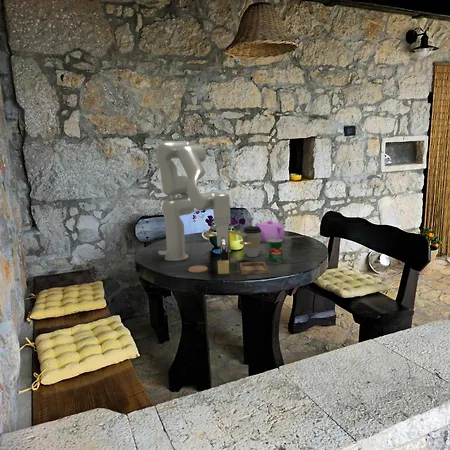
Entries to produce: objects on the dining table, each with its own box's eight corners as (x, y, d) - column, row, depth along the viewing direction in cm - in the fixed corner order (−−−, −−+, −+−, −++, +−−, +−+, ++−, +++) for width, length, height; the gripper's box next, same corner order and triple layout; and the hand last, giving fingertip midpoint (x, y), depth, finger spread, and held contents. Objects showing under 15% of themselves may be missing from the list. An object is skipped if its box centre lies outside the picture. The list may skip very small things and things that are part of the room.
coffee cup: (260, 258, 208) (260, 229, 205) (242, 257, 209) (241, 229, 207) (262, 253, 217) (262, 225, 214) (245, 252, 219) (244, 225, 216)
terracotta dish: (187, 272, 187) (187, 271, 187) (188, 267, 196) (188, 265, 196) (207, 272, 188) (207, 270, 187) (207, 266, 196) (207, 265, 196)
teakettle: (285, 243, 236) (285, 222, 234) (256, 244, 237) (256, 223, 234) (282, 237, 253) (282, 217, 251) (255, 237, 253) (254, 218, 251)
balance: (205, 264, 200) (203, 227, 196) (205, 260, 206) (204, 225, 202) (252, 262, 200) (251, 226, 197) (251, 259, 206) (250, 223, 203)
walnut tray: (241, 274, 182) (241, 270, 182) (239, 266, 194) (239, 262, 194) (267, 273, 183) (267, 269, 182) (264, 265, 195) (264, 261, 194)
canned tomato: (274, 264, 196) (274, 242, 194) (263, 261, 202) (263, 239, 200) (286, 261, 201) (286, 240, 199) (275, 258, 207) (275, 237, 205)
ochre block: (218, 274, 185) (217, 263, 184) (218, 270, 190) (217, 260, 189) (229, 273, 185) (228, 263, 184) (228, 270, 190) (228, 260, 189)
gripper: (213, 218, 191) (215, 253, 194) (214, 224, 174) (216, 263, 177) (229, 217, 191) (231, 252, 194) (231, 223, 174) (233, 262, 177)
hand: (224, 257), depth 185 cm, fingers open, 9 cm apart
